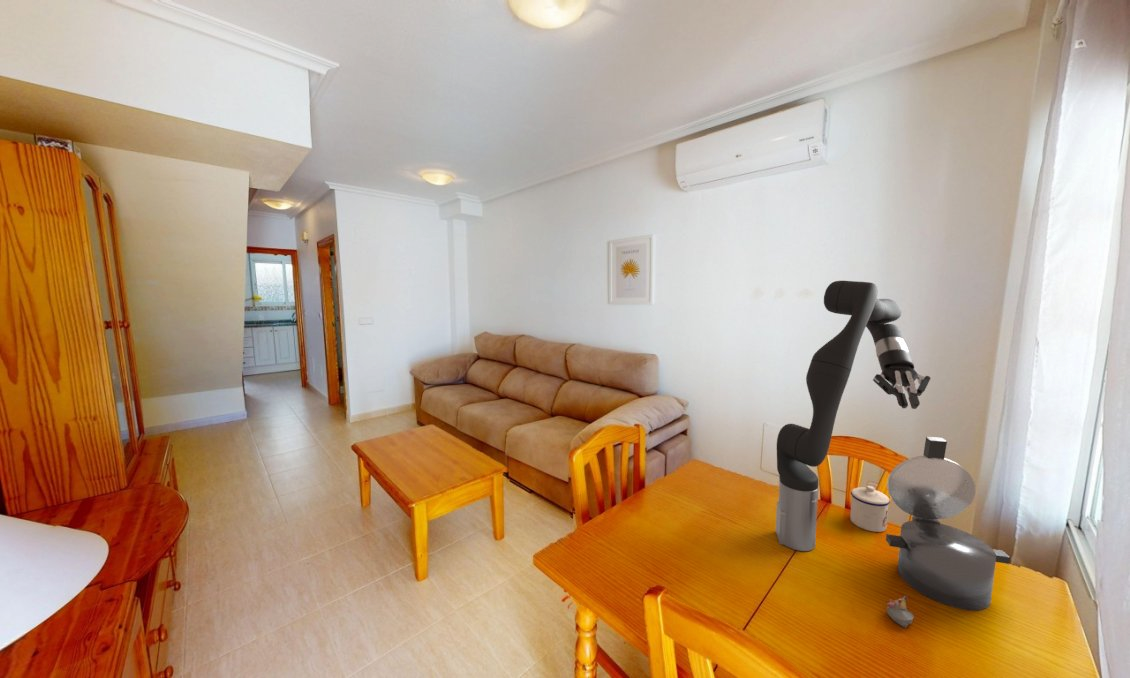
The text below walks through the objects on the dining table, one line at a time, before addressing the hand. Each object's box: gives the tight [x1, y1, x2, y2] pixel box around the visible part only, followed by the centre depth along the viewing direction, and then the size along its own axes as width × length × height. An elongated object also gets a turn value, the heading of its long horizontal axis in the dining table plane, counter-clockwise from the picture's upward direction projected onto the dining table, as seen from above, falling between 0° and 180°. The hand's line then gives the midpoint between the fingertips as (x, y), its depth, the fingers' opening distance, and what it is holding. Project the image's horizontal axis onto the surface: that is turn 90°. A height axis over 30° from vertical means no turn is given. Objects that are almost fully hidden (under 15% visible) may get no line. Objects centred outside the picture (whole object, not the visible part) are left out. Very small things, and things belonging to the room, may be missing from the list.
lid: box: [886, 436, 977, 520], centre depth 99 cm, size 22×17×3 cm
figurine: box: [886, 595, 915, 628], centre depth 84 cm, size 5×4×6 cm
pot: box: [885, 515, 1011, 611], centre depth 94 cm, size 22×17×11 cm
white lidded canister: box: [849, 485, 891, 533], centre depth 118 cm, size 12×9×12 cm
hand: (910, 407), depth 108 cm, fingers closed
